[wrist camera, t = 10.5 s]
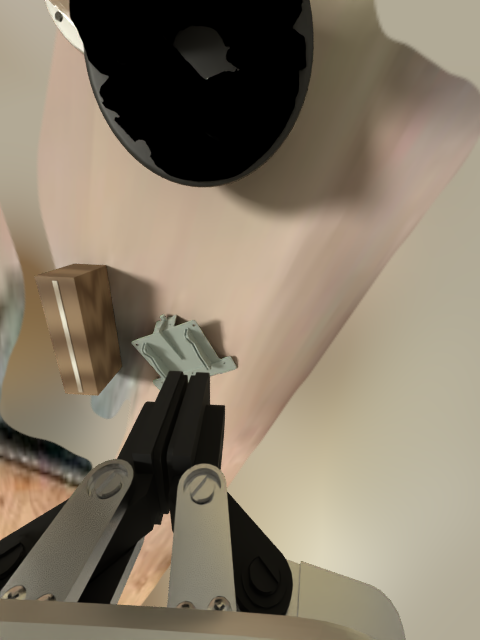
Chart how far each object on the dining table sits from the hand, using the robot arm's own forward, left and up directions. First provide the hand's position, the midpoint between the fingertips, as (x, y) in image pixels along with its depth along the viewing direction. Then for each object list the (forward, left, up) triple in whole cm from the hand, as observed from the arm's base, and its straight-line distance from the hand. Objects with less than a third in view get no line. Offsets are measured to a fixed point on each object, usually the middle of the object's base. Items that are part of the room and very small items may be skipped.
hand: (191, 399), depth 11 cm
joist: (+10, -22, -31) cm, 39 cm away
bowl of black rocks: (-19, -3, -31) cm, 37 cm away
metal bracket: (+15, -9, -31) cm, 36 cm away
